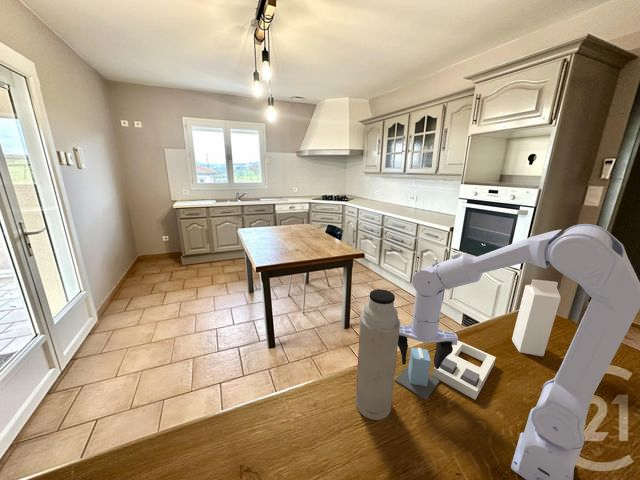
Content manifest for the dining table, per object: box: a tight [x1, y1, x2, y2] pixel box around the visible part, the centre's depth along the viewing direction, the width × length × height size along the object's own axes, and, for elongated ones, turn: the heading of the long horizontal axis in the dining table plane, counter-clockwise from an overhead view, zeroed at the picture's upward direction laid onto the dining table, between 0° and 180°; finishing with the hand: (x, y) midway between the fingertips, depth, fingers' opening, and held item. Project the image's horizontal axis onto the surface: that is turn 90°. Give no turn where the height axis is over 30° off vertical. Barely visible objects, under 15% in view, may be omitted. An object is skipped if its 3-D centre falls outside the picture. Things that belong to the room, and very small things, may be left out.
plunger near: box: [461, 368, 480, 387], centre depth 64 cm, size 3×3×3 cm
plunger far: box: [440, 358, 457, 374], centre depth 68 cm, size 3×3×3 cm
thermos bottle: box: [355, 288, 401, 421], centre depth 56 cm, size 8×8×28 cm
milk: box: [511, 279, 562, 357], centre depth 76 cm, size 6×6×22 cm
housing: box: [432, 340, 497, 401], centre depth 70 cm, size 16×10×2 cm, turn 134°
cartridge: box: [408, 347, 432, 386], centre depth 66 cm, size 4×4×8 cm
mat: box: [394, 364, 441, 402], centre depth 67 cm, size 8×8×1 cm
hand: (419, 363), depth 65 cm, fingers open, 7 cm apart
